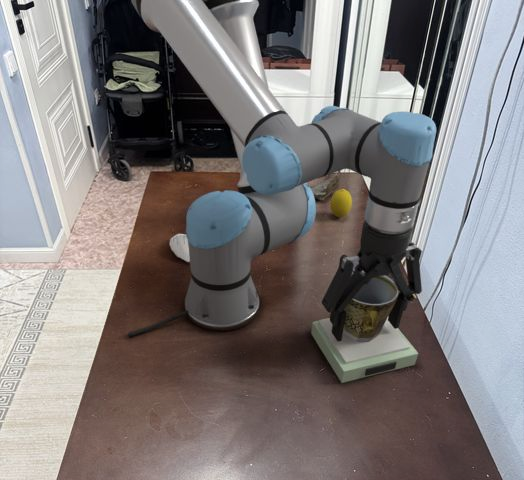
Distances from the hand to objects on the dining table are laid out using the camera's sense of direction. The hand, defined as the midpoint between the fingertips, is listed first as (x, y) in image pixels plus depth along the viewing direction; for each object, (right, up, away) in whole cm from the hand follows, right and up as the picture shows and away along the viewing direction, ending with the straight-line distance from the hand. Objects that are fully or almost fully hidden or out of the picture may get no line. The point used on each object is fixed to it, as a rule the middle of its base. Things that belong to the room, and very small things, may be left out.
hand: (365, 330), depth 91 cm
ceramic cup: (-1, -1, +1) cm, 1 cm away
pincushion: (-38, +20, +27) cm, 51 cm away
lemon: (+1, +32, +41) cm, 51 cm away
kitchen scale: (0, -3, +3) cm, 5 cm away
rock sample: (-3, +40, +49) cm, 64 cm away
